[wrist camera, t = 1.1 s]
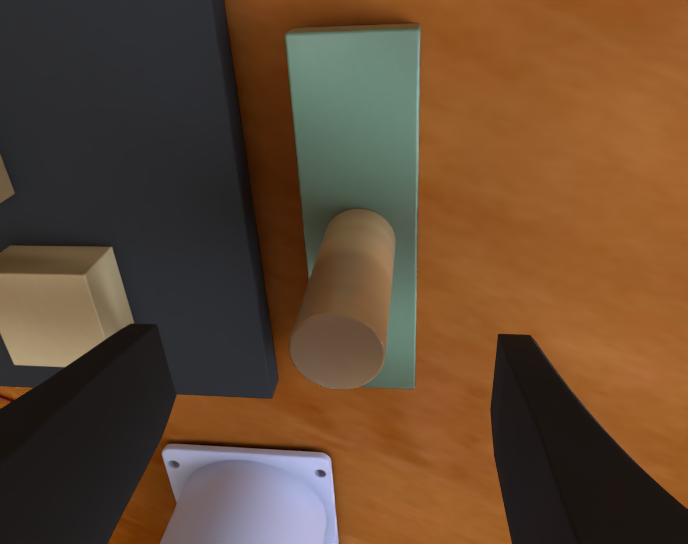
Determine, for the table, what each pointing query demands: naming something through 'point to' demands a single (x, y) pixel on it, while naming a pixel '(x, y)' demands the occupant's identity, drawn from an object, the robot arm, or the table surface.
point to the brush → (357, 201)
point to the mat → (139, 174)
